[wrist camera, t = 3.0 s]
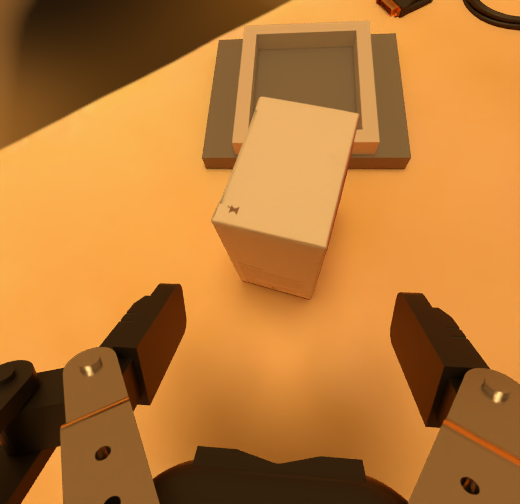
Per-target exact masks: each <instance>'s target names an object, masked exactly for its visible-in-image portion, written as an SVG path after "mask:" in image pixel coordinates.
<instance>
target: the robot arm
mask: <svg viewBox="0 0 520 504" xmlns="http://www.w3.org/2000/svg"><path fill="white" fill-rule="evenodd" d="M185 329H186V312H185V305H184V298H183V291H182V287H181V285H180V284H163V283H161V284H159V285H158V286H157V288H156V289H155V290H154V292H153V293H152V294H151V296H144V297H143V298H141V299H140V300H138V301H137V302H135V303H134V304H133V305H132V306H131V308H130V309H129V310H128V311H127V314H125V315H124V316H123V318H122V319H121V322H119V323H118V324H117V325H116V326H115V328H114V329H113V330H112V331H111V333H110V334H109V335H108V336H107V338H106V339H105V340H104V341H103V343H102V344H101V345H100V346H99V347H96V348H91V349H88V350H85V351H83V352H81V353H79V354H77V355H76V356H74V357H73V358H72V359H71V360H70V361H69V362H68V363H67V364H66V365H65V367H64V368H61V369H56V370H50V371H45V372H39V373H36V371H35V369H34V366H33V364H32V363H31V362H29V361H26V360H17V361H11V362H7V363H4V364H2V365H0V504H21V503H22V501H23V499H24V498H25V496H26V495H27V493H28V491H29V490H30V488H31V487H32V485H33V484H34V482H35V480H36V479H37V477H38V476H39V474H40V472H41V471H42V469H43V468H44V466H45V464H46V463H47V461H48V460H49V458H50V457H51V455H52V453H53V452H54V450H55V449H56V447H57V446H61V463H62V485H63V504H520V384H518V383H517V382H516V381H514V380H513V379H512V378H510V377H508V376H506V375H504V374H502V373H500V372H497V371H494V370H491V369H490V368H489V367H488V366H487V364H486V363H485V362H484V360H483V359H482V357H481V356H480V355H479V353H478V352H477V351H476V349H475V348H474V347H473V345H472V344H471V343H470V341H469V340H468V339H466V336H465V335H464V333H463V332H462V331H461V330H459V327H458V325H457V324H456V323H455V321H454V320H453V319H452V317H451V316H449V315H448V314H446V313H445V312H444V311H442V310H441V309H439V308H432V306H431V305H430V303H429V302H428V300H427V299H426V297H425V296H424V295H423V294H422V293H403V292H400V293H398V295H397V298H396V302H395V307H394V312H393V318H392V323H391V328H390V337H391V343H392V346H393V348H394V351H395V353H396V356H397V358H398V361H399V363H400V365H401V368H402V370H403V373H404V375H405V378H406V380H407V382H408V385H409V387H410V390H411V392H412V395H413V397H414V399H415V402H416V404H417V407H418V409H419V412H420V414H421V416H422V419H423V421H424V424H425V426H426V427H437V428H440V431H439V433H438V435H437V438H436V440H435V442H434V445H433V447H432V449H431V452H430V454H429V456H428V458H427V461H426V463H425V465H424V468H423V470H422V472H421V475H420V477H419V479H418V482H417V484H416V486H415V489H414V491H413V493H412V495H411V498H410V500H409V502H408V501H407V500H406V499H405V498H403V497H402V496H401V495H400V494H398V493H397V492H396V491H394V490H393V489H392V488H390V487H388V486H387V485H385V484H383V483H382V482H380V481H378V480H376V479H374V478H372V477H369V476H366V475H365V471H364V466H363V461H362V460H357V459H345V458H333V457H321V456H320V457H315V458H309V459H304V460H299V461H293V462H288V463H282V464H276V463H272V462H270V461H267V460H264V459H262V458H259V457H256V456H253V455H251V454H248V453H245V452H242V451H240V450H237V449H226V448H214V447H202V446H198V447H197V451H196V454H195V458H194V460H192V461H188V462H184V463H181V464H178V465H176V466H174V467H172V468H169V469H168V470H166V471H164V472H162V473H161V474H159V475H158V476H156V477H155V478H154V479H152V476H151V472H150V469H149V465H148V462H147V458H146V455H145V451H144V448H143V444H142V441H141V438H140V434H139V431H138V427H137V424H136V420H135V417H134V413H133V411H134V409H135V408H136V406H137V405H150V404H151V402H152V400H153V398H154V396H155V394H156V392H157V390H158V388H159V385H160V383H161V381H162V379H163V377H164V375H165V373H166V371H167V369H168V366H169V364H170V362H171V360H172V358H173V356H174V354H175V352H176V350H177V348H178V345H179V343H180V341H181V339H182V337H183V335H184V332H185Z"/></svg>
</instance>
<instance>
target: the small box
mask: <svg viewBox="0 0 520 504" xmlns="http://www.w3.org/2000/svg"><path fill="white" fill-rule="evenodd" d="M359 119H360V115H359V114H358V113H353V112H348V111H343V110H337V109H332V108H326V107H320V106H314V105H309V104H303V103H297V102H291V101H286V100H280V99H274V98H268V97H260V98H259V99H258V102H257V105H256V108H255V111H254V115H253V117H252V120H251V123H250V126H249V128H248V131H247V134H246V136H245V139H244V142H243V144H242V147H241V149H240V152H239V155H238V157H237V160H236V162H235V165H234V167H233V170H232V172H231V175H230V178H229V180H228V183H227V185H226V187H225V190H224V192H223V195H222V197H221V200H220V202H219V203H218V205H217V208H216V210H215V212H214V214H213V217H212V219H211V221H212V223H213V225H214V227H215V229H216V231H217V233H218V235H219V237H220V239H221V241H222V243H223V245H224V247H225V249H226V251H227V253H228V255H229V257H230V259H231V261H232V263H233V265H234V267H235V268H236V270H237V272H238V274H239V276H240V278H241V280H242V281H246V282H250V283H253V284H257V285H260V286H264V287H267V288H271V289H274V290H278V291H281V292H285V293H289V294H292V295H296V296H299V297H303V298H306V299H311V297H312V294H313V291H314V288H315V285H316V282H317V279H318V276H319V272H320V269H321V266H322V263H323V260H324V257H325V254H326V251H327V248H328V244H329V240H330V237H331V233H332V229H333V225H334V221H335V218H336V214H337V210H338V206H339V203H340V199H341V195H342V191H343V187H344V183H345V179H346V175H347V170H348V166H349V162H350V157H351V153H352V149H353V144H354V140H355V135H356V131H357V127H358V123H359Z"/></svg>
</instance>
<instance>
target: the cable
mask: <svg viewBox="0 0 520 504" xmlns="http://www.w3.org/2000/svg"><path fill="white" fill-rule="evenodd" d="M432 1H433V0H377V1H376V3H378V2H380V3H381V4H382V5H383V6H385V7H386V8H387V9H386V8H385V9H386V10H388V11H390V12H391V15H390V16H392V15H395V17H396V16H398V17H399V18H401V17H403V16H405V15H406V14H407V13H410V12H412V11H414V10H416V9H418V8H420V7H422V6H424V5H426V4H428V3H430V2H432ZM463 2H464V5H465V6H466V8H467V9H468V10H469V11H470V12H471V13H472V14H473V15H474V16H475V17H477V18H478V19H480V20H482V21H484V22H486V23H488V24H491V25H494V26H498V27H502V28H507V29H519V30H520V17H519V16H511V15H507V14H503V13H500V12H497V11H495V10H493V9H491V8H489V7H487V6H486V5H484V4H483V3H482V2H481V1H480V0H463ZM378 4H379V3H378ZM379 5H380V4H379ZM383 6H382V7H383ZM389 9H390V10H389Z"/></svg>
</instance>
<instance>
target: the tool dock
mask: <svg viewBox="0 0 520 504" xmlns="http://www.w3.org/2000/svg"><path fill="white" fill-rule="evenodd" d="M260 97H268V98H274V99H280V100H286V101H291V102H297V103H303V104H309V105H314V106H320V107H326V108H332V109H337V110H343V111H348V112H353V113H358V114H359V115H360V119H359V123H358V127H357V131H356V135H355V140H354V144H353V149H352V153H351V157H350V162H349V166H348V169H405V167H406V165H407V163H408V162H409V160H410V158H411V154H410V145H409V137H408V129H407V121H406V113H405V105H404V97H403V89H402V81H401V73H400V64H399V56H398V48H397V40H396V33H394V34H370V23H369V21H347V22H323V23H299V24H275V25H251V26H245V27H244V37H243V39H234V40H219V43H218V50H217V57H216V64H215V71H214V78H213V85H212V92H211V99H210V106H209V113H208V120H207V127H206V134H205V141H204V148H203V155H202V159H203V161H204V164H205V166H206V168H233V167H234V165H235V162H236V160H237V157H238V155H239V152H240V149H241V147H242V144H243V142H244V139H245V136H246V134H247V131H248V128H249V126H250V123H251V120H252V117H253V115H254V111H255V108H256V105H257V102H258V99H259V98H260Z"/></svg>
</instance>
